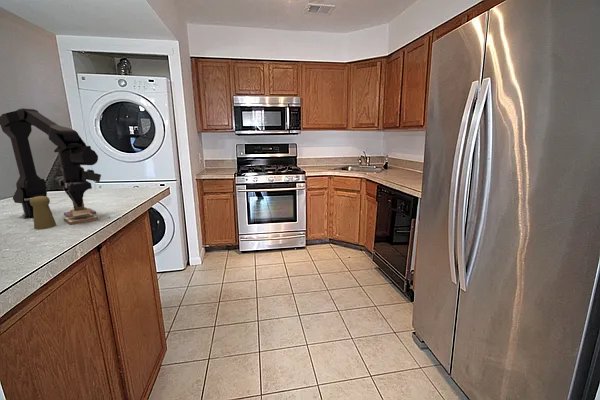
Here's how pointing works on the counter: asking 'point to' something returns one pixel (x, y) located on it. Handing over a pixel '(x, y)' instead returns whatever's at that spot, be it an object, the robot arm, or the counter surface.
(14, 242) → the counter surface
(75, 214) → the wooden stamp
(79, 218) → the stamp board
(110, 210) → the counter surface
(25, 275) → the counter surface
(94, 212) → the ink pad
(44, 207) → the cork
